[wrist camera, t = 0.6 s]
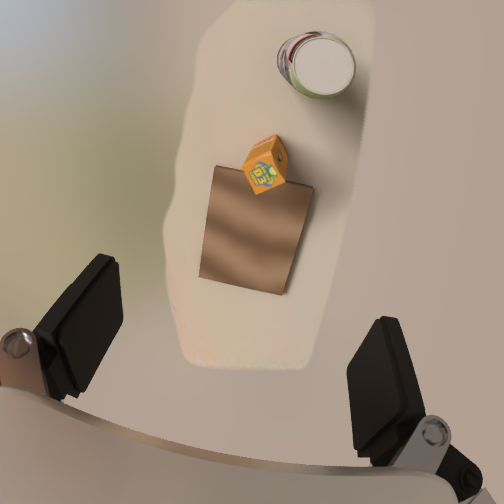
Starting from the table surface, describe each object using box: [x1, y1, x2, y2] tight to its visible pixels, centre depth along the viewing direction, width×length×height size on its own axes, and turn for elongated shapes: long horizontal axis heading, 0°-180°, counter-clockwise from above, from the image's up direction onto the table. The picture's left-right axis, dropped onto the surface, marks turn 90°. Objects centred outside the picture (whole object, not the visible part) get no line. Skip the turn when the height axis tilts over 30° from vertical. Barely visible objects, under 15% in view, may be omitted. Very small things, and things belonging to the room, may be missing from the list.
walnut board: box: [199, 165, 314, 296], centre depth 41 cm, size 16×12×1 cm
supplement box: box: [242, 135, 288, 195], centre depth 31 cm, size 3×3×10 cm
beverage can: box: [277, 31, 356, 99], centre depth 25 cm, size 6×7×12 cm
